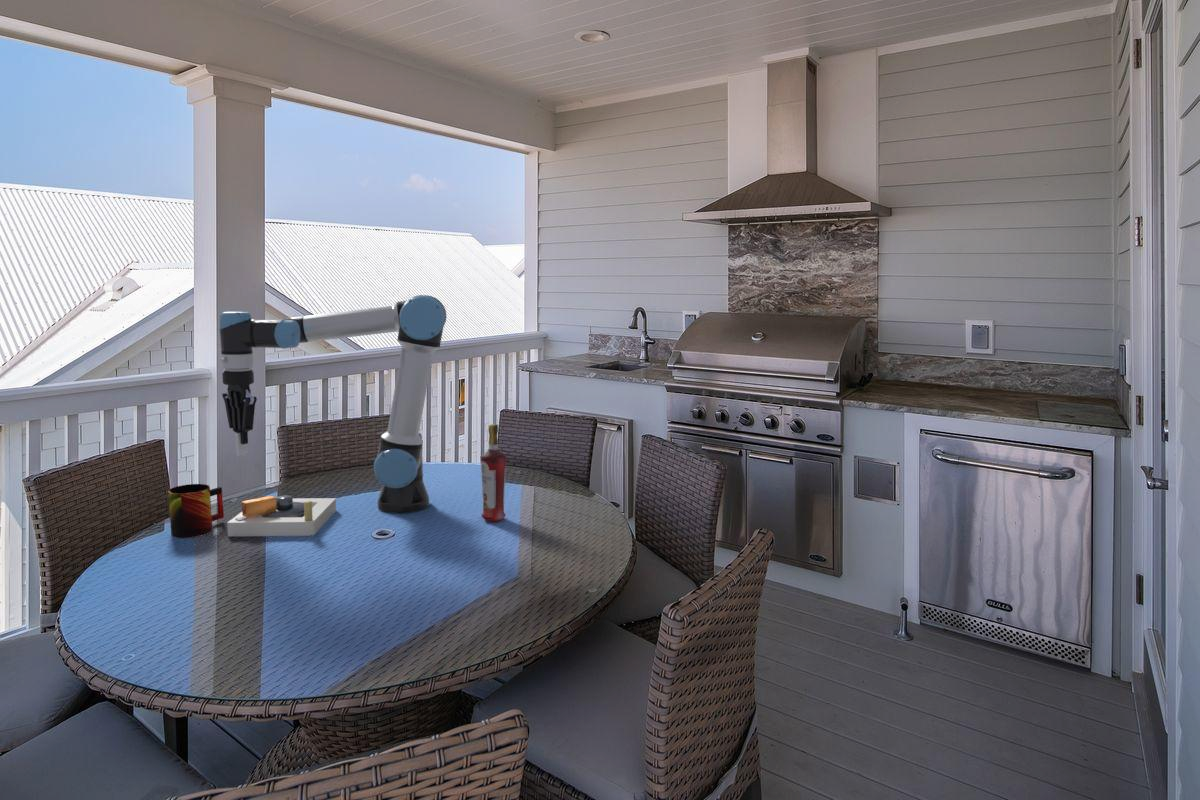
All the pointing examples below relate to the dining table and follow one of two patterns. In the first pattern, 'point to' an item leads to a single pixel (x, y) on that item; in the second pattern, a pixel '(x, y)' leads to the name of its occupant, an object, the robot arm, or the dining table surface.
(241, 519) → the housing
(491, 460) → the liquor
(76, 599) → the dining table surface
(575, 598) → the dining table surface
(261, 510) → the dial
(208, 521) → the mug
